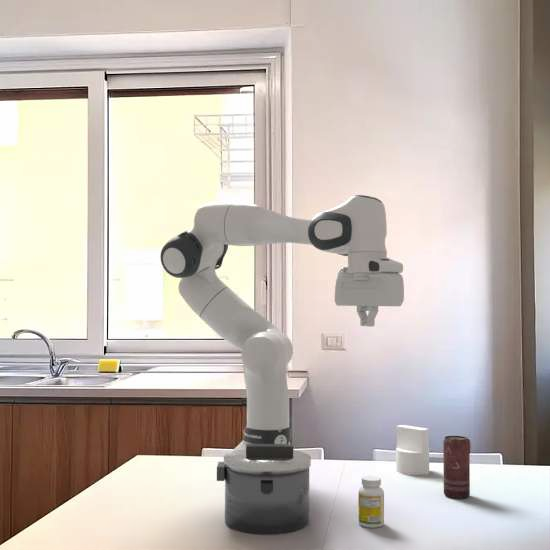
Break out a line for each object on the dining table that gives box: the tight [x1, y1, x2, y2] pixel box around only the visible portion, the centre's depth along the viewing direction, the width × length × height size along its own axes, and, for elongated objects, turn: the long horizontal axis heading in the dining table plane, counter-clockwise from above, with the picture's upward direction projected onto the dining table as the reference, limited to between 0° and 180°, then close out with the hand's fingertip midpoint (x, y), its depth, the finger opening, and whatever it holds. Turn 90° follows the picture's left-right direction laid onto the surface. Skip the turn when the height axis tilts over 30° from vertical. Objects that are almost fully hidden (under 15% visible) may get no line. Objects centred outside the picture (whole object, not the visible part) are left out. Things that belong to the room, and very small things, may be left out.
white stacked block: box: [395, 424, 430, 476], centre depth 196 cm, size 9×9×12 cm
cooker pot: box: [216, 461, 310, 535], centre depth 152 cm, size 20×23×12 cm
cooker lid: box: [223, 443, 312, 475], centre depth 152 cm, size 19×19×4 cm
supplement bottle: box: [357, 475, 385, 529], centre depth 149 cm, size 5×5×10 cm
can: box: [442, 435, 472, 500], centre depth 171 cm, size 6×6×14 cm
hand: (367, 326), depth 162 cm, fingers closed
